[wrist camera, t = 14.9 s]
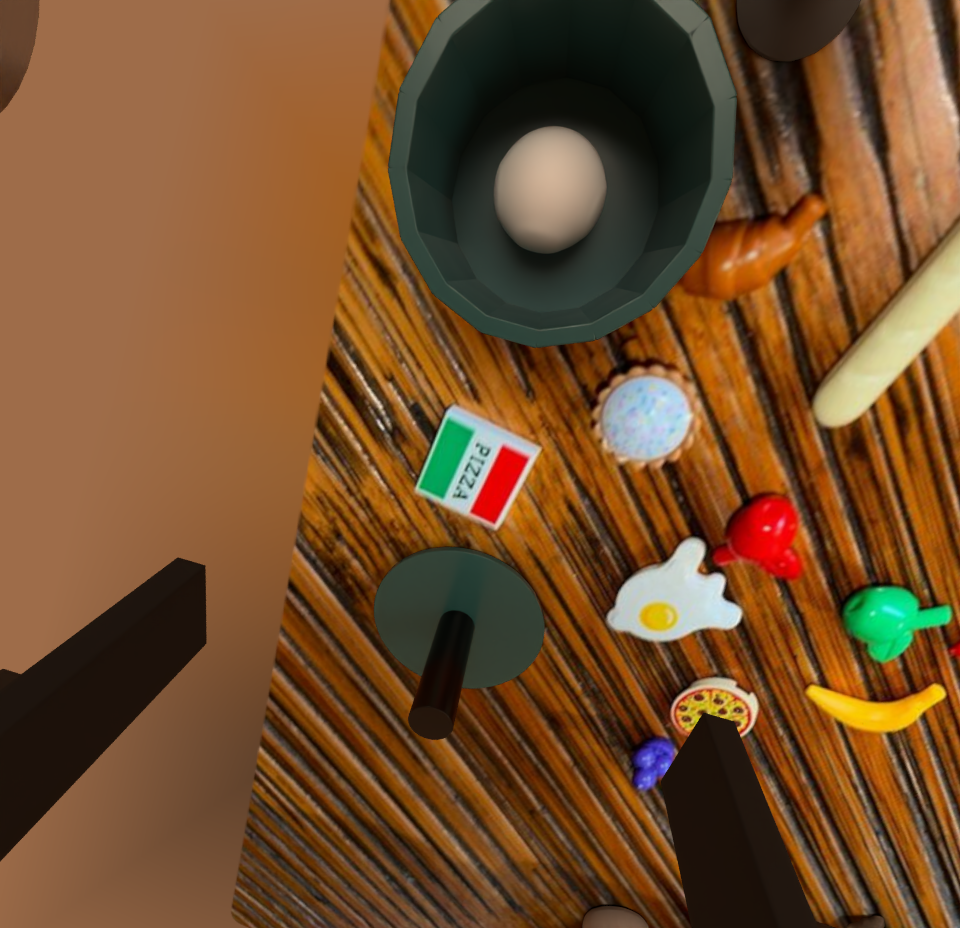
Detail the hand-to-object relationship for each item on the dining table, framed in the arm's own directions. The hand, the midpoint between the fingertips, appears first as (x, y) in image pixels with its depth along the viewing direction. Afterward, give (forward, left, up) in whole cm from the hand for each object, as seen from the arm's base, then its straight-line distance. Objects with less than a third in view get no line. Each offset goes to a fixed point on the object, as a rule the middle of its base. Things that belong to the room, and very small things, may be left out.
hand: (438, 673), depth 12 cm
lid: (0, -14, -18) cm, 22 cm away
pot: (-1, +13, -18) cm, 22 cm away
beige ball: (-1, +13, -18) cm, 22 cm away
